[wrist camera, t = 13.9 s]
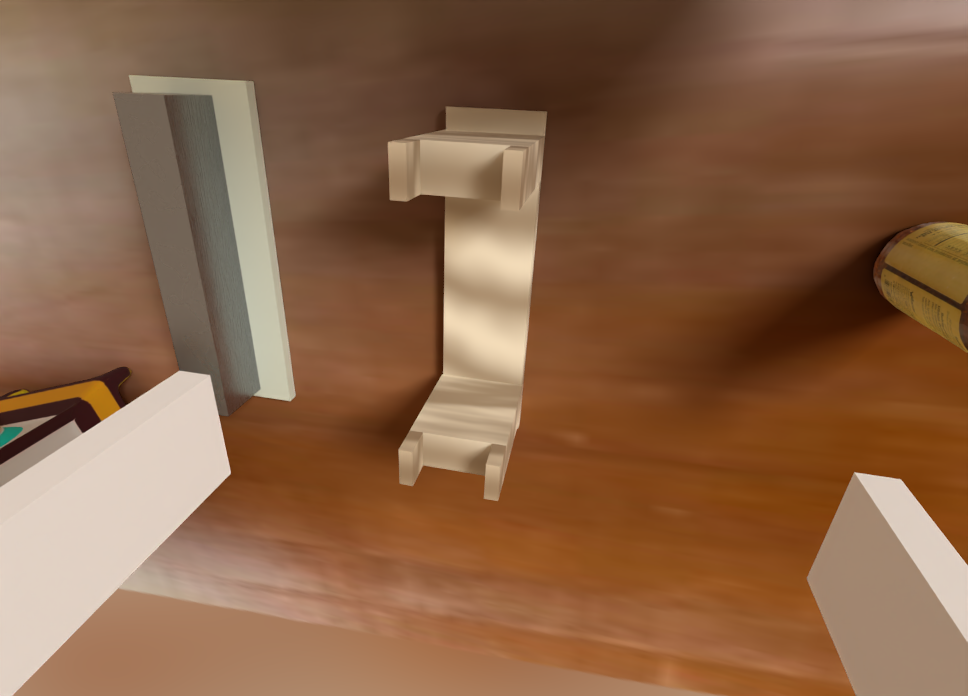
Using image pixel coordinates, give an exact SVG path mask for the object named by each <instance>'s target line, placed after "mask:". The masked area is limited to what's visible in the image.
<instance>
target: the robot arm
mask: <svg viewBox="0 0 968 696" xmlns="http://www.w3.org/2000/svg"><path fill="white" fill-rule="evenodd" d="M230 474H231V471H230V466H229V461H228V457H227V452H226V447H225V443H224V438H223V433H222V429H221V424H220V419H219V415H218V410H217V405H216V401H215V396H214V391H213V387H212V382H211V377H210V375H205V374H198V373H192V372H185V371H178V372H177V373H175V374H174V375H172V376H171V377H169V378H168V379H166V380H164V381H163V382H161V383H160V384H158V385H157V386H155V387H154V388H152V389H151V390H149V391H148V392H146V393H144V394H143V395H141V396H140V397H138V398H137V399H135V400H134V401H132V402H131V403H129V404H128V405H126V406H125V407H123V408H121V409H120V410H118V411H117V412H115V413H114V414H112V415H111V416H109V417H108V418H106V419H105V420H103V421H101V422H100V423H98V424H97V425H95V426H94V427H92V428H91V429H89V430H88V431H86V432H85V433H83V434H81V435H80V436H78V437H77V438H75V439H74V440H72V441H71V442H69V443H68V444H66V445H65V446H63V447H61V448H60V449H58V450H57V451H55V452H54V453H52V454H51V455H49V456H48V457H46V458H45V459H43V460H41V461H40V462H38V463H37V464H35V465H34V466H32V467H31V468H29V469H28V470H26V471H25V472H23V473H21V474H20V475H18V476H17V477H15V478H14V479H12V480H11V481H9V482H8V483H6V484H5V485H3V486H2V487H0V696H12V695H13V694H14V693H15V692H16V691H17V690H18V689H19V688H20V687H21V686H22V685H23V684H24V683H25V682H26V681H27V680H28V679H29V678H30V677H31V676H32V675H33V674H34V673H35V672H36V671H37V670H38V669H39V668H40V667H41V666H42V665H43V664H44V663H45V662H46V661H47V660H48V659H49V658H50V657H51V655H53V654H54V653H55V652H56V651H57V650H58V649H59V647H60V646H61V645H63V643H65V641H66V640H67V639H68V638H69V637H70V636H71V635H72V634H73V633H74V632H75V631H76V630H77V629H78V628H79V627H80V626H81V625H82V624H83V623H84V622H85V621H86V620H87V619H88V618H89V617H90V616H91V615H92V614H93V613H94V612H95V611H96V610H97V609H98V608H99V607H100V606H101V605H102V604H103V603H104V602H105V601H106V599H108V598H109V597H110V596H111V595H112V594H113V593H114V592H115V591H116V590H117V589H118V588H119V587H120V586H121V585H122V584H123V583H124V582H125V581H126V580H127V578H128V577H129V576H130V575H131V574H132V573H133V572H134V571H135V570H136V569H137V568H138V567H139V566H140V565H141V564H142V563H143V562H144V561H145V560H146V559H147V558H148V557H149V556H150V555H151V554H152V553H153V552H154V551H155V550H156V549H157V548H158V547H159V546H160V545H161V544H162V543H163V542H164V541H165V540H166V539H167V538H168V537H169V536H170V535H171V534H172V533H173V532H174V531H175V530H176V529H177V528H178V527H179V526H180V525H181V524H182V523H183V522H184V521H185V520H186V519H187V518H188V517H189V515H190V514H191V513H192V512H193V511H194V510H195V509H196V508H197V507H198V506H199V505H200V504H201V503H202V502H203V501H204V500H205V499H206V498H207V497H208V496H209V495H210V494H211V493H212V492H213V491H214V490H215V489H216V488H217V487H218V486H219V485H220V484H221V483H222V482H223V481H224V480H225V479H226V478H227V477H228V476H229V475H230ZM807 580H808V583H809V585H810V588H811V590H812V592H813V595H814V597H815V599H816V602H817V604H818V607H819V609H820V611H821V614H822V616H823V618H824V621H825V623H826V626H827V628H828V630H829V633H830V635H831V637H832V640H833V642H834V645H835V647H836V649H837V652H838V654H839V656H840V659H841V661H842V663H843V666H844V668H845V671H846V673H847V675H848V678H849V680H850V682H851V685H852V687H853V690H854V692H855V694H856V696H968V565H967V564H966V563H965V562H964V560H963V559H962V558H961V556H960V555H959V554H958V553H957V551H956V550H955V549H954V547H953V546H952V545H951V544H950V542H949V541H948V540H947V538H946V537H945V536H944V535H943V533H942V532H941V531H940V529H939V528H938V527H937V526H936V524H935V523H934V522H933V520H932V519H931V518H930V516H929V515H928V514H927V513H926V511H925V510H924V509H923V507H922V506H921V505H920V504H919V502H918V501H917V500H916V498H915V497H914V496H913V495H912V493H911V492H910V491H909V489H908V488H907V487H906V486H905V484H904V483H903V482H902V480H901V479H895V478H888V477H881V476H875V475H868V474H861V473H855V472H854V474H853V476H852V479H851V481H850V483H849V485H848V488H847V490H846V492H845V494H844V497H843V499H842V501H841V503H840V505H839V508H838V510H837V512H836V514H835V517H834V519H833V521H832V523H831V526H830V528H829V530H828V532H827V535H826V537H825V539H824V541H823V543H822V546H821V548H820V550H819V552H818V555H817V557H816V559H815V561H814V564H813V566H812V568H811V570H810V572H809V575H808V577H807Z"/></svg>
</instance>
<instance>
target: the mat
mask: <svg viewBox="0 0 968 696" xmlns="http://www.w3.org/2000/svg"><path fill="white" fill-rule="evenodd" d="M129 79H130V83H131V88H132V92H145V93H181V94H199V95H212V98H213V104H214V110H215V116H216V122H217V128H218V134H219V140H220V147H221V153H222V159H223V165H224V171H225V177H226V183H227V189H228V195H229V201H230V207H231V213H232V219H233V225H234V231H235V237H236V243H237V249H238V255H239V261H240V267H241V273H242V279H243V285H244V291H245V297H246V303H247V309H248V315H249V321H250V327H251V333H252V339H253V345H254V351H255V357H256V363H257V370H258V376H259V382H260V388H261V389H260V390H259V391H258V392H257V393H255V394H254V396H260V397H267V398H273V399H279V400H286V401H291V400H292V399H293V398H294V397H295V396H296V395H295V388H294V380H293V373H292V365H291V358H290V350H289V343H288V335H287V328H286V320H285V313H284V306H283V298H282V291H281V283H280V276H279V268H278V261H277V253H276V246H275V238H274V231H273V224H272V216H271V209H270V201H269V194H268V186H267V179H266V171H265V164H264V156H263V149H262V141H261V134H260V127H259V119H258V112H257V104H256V97H255V89H254V82H253V81H240V80H219V79H199V78H179V77H159V76H139V75H129Z"/></svg>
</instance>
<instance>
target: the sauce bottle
mask: <svg viewBox="0 0 968 696" xmlns="http://www.w3.org/2000/svg"><path fill="white" fill-rule="evenodd" d="M873 275H874V280H875V282H876V285H877V288H878V290H879V292H880V294H881V295H882V296H883V297H884V298H885V299H887V300H888V301H889V302H890V303H891V304H892V305H893V306H895V307H896V308H897V309H899V310H901V311H902V312H904V313H905V314H907V315H908V316H910V317H911V318H913V319H915V320H916V321H918V322H919V323H921V324H923V325H924V326H926V327H928V328H929V329H931V330H932V331H934V332H936V333H937V334H939V335H940V336H942V337H944V338H945V339H947V340H948V341H950V342H951V343H953V344H955V345H956V346H958V347H959V348H961V349H962V350H964V351H966V352H967V353H968V225H964V224H959V223H949V222H933V223H930V222H929V223H927V224H921V225H917V226H914V227H911V228H910V229H906V230H903V231H901V232H900V233H898V234H897V235H896V236H895V237H894V238H893V239H892V240H890V241H889V242H888V243H887V245H886V246H885V247H884V249H883V250H882V251H881V253H880V255H879V256H878V258H877V259H876V261H875V264H874V269H873Z"/></svg>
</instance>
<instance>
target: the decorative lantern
mask: <svg viewBox="0 0 968 696" xmlns="http://www.w3.org/2000/svg"><path fill="white" fill-rule="evenodd" d="M130 375H131V370H130V369H129V368H127V367H120V368H117V369H115V370H112V371H110V372H108V373H106V374H104V375H101V376H98V377H95V378H92V379H88V380H83V381H79V382H74V383H70V384H65V385H60V386H56V387H51V388H46V389H42V390H37V391H33V392H28V391H27V390H22V389H20V390H15V391H13V392H10V393H7V394H5V395H3V396H1V397H0V487H2V486H3V485H5V484H6V483H8V482H9V481H11V480H12V479H14V478H15V477H17V476H18V475H20V474H21V473H23V472H25V471H26V470H28V469H29V468H31V467H32V466H34V465H35V464H37V463H38V462H40V461H41V460H43V459H45V458H46V457H48V456H49V455H51V454H52V453H54V452H55V451H57V450H58V449H60V448H61V447H63V446H65V445H66V444H68V443H69V442H71V441H72V440H74V439H75V438H77V437H78V436H80V435H81V434H83V433H85V432H86V431H88V430H89V429H91V428H92V427H94V426H95V425H97V424H98V423H100V422H101V421H103V420H105V419H106V418H108V417H109V416H111V415H112V414H114V413H115V412H117V411H118V410H120V409H121V408H123V407H125V406H126V404H125V403H124V401H123V400H122V398H121V396H120V393H119V390H118V389H119V386H120V385H121V383H123V382H124V381H125V380H126V379H127V378H128V377H129V376H130Z"/></svg>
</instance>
